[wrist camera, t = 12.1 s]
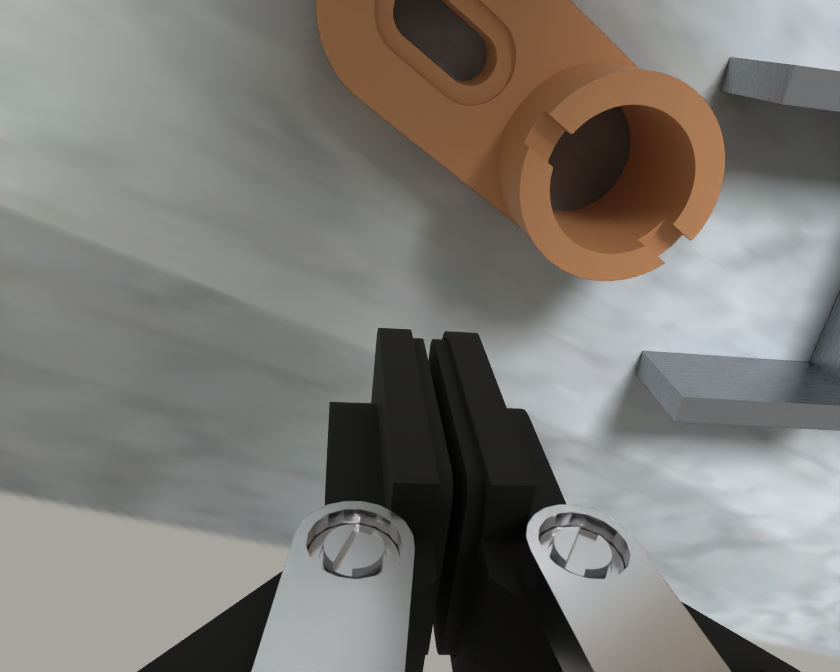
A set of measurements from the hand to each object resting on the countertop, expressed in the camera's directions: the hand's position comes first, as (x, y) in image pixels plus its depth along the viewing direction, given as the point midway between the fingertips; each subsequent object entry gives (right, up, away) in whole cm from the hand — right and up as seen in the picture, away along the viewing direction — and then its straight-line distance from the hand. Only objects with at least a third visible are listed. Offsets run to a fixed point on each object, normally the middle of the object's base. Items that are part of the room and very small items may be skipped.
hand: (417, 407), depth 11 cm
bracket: (+4, +13, +20) cm, 24 cm away
